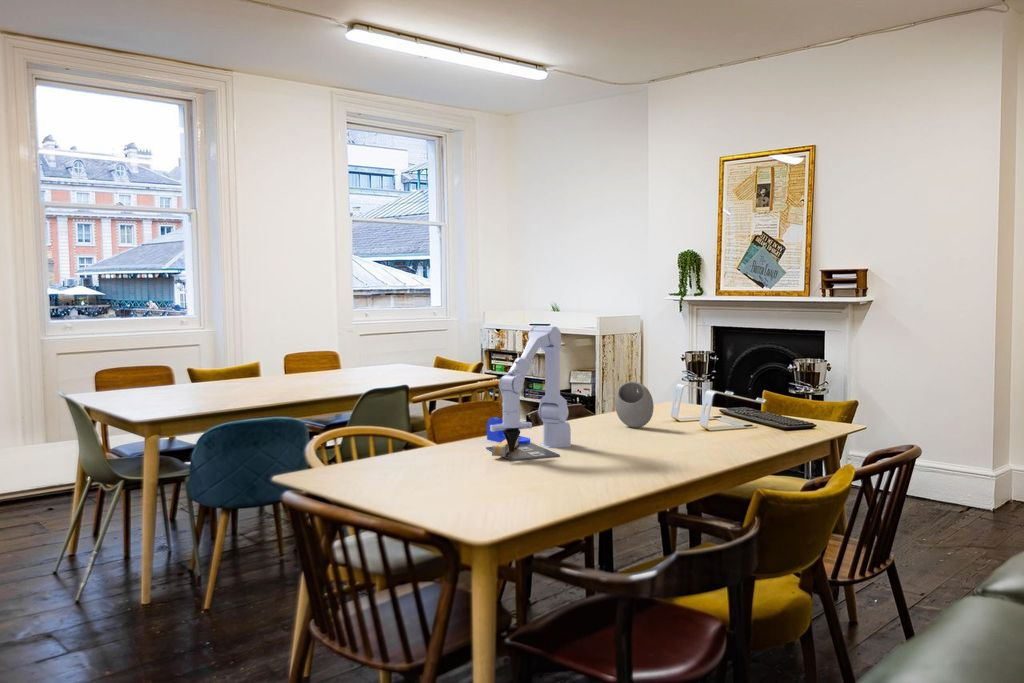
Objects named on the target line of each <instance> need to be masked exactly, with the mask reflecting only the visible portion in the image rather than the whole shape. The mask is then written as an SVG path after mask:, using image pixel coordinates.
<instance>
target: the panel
mask: <svg viewBox="0 0 1024 683" xmlns="http://www.w3.org/2000/svg"><path fill="white" fill-rule="evenodd" d="M519 436H520V435H519ZM519 436H518V445H517V446H516V447H514V452H511V451H509V452H507V453H506V456H500V457H501V458H504V459H506V460H508V461H509V462H515V461H516V462H518V461H525V460H527V461H529V460H537V459H540V460H541V459H548V458H550V459H551V458H560V457H561V454H560V453H557V452H554V451H551V450H549V449H548V448H546V447H543V446H541V445H539V444H538V445H537V444H535V443H531V442H530V443H529V444H519ZM485 449H487V450H486V451H488V450H489V451H488V452H491V453H492V446H486V447H485Z"/></svg>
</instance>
